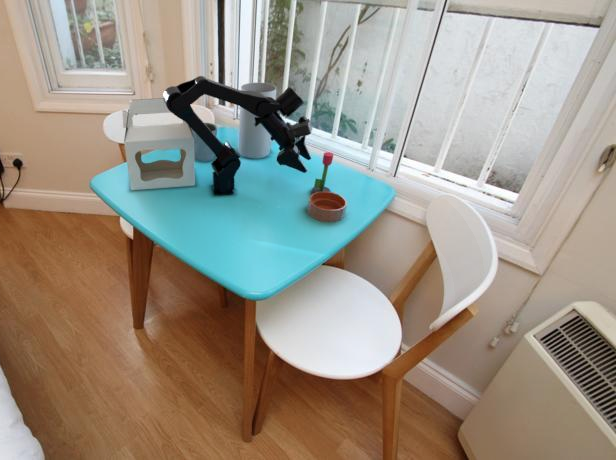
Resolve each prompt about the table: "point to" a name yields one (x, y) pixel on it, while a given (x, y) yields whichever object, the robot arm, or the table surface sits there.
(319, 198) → the bowl
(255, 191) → the table surface
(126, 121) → the gable box
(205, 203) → the table surface
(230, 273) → the table surface
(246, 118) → the cylinder vase
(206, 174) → the table surface
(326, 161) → the tulip
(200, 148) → the grey cup
